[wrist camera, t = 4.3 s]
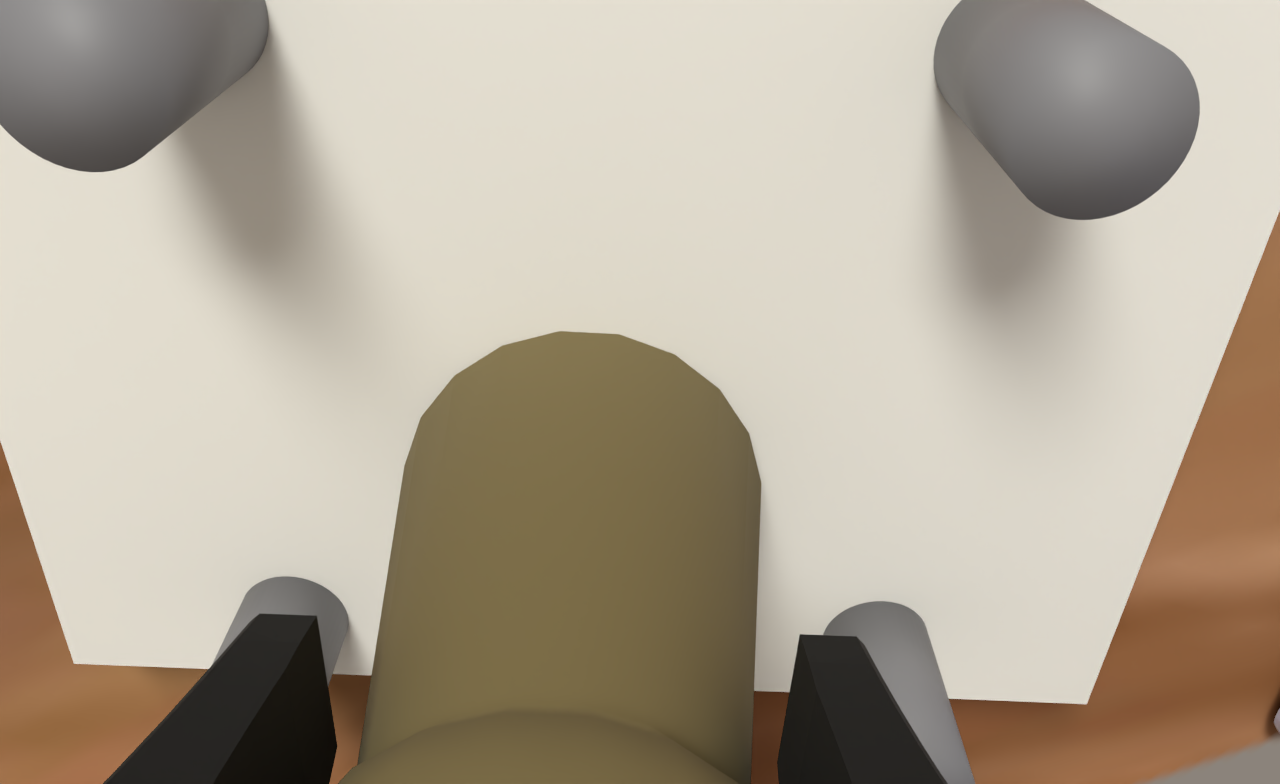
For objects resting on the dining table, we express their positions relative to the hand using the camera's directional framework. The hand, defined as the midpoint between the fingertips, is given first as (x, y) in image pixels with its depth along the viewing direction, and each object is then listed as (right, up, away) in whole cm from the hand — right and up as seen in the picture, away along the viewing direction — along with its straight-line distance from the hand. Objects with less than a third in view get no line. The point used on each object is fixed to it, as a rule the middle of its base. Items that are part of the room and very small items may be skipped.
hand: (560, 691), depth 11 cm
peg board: (0, +4, +7) cm, 8 cm away
